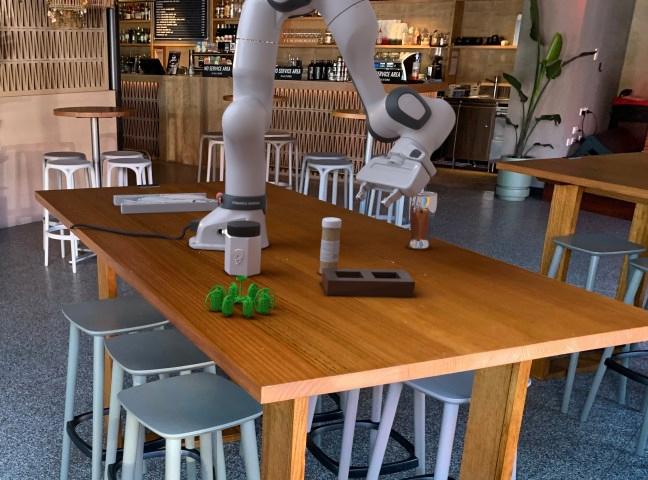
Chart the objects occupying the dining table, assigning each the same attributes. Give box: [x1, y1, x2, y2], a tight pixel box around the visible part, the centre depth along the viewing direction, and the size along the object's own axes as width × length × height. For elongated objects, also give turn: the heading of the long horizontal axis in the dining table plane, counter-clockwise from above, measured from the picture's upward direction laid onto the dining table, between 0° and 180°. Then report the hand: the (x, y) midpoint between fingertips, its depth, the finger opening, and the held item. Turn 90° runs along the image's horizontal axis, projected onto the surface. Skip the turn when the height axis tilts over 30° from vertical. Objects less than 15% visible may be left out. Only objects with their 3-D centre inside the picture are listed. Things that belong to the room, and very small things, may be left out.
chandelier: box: [205, 276, 276, 318], centre depth 164 cm, size 15×15×7 cm
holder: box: [321, 268, 416, 298], centre depth 180 cm, size 11×19×4 cm, turn 88°
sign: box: [113, 192, 219, 215], centre depth 278 cm, size 34×3×20 cm
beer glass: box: [407, 190, 438, 251], centre depth 218 cm, size 7×7×15 cm
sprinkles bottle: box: [318, 217, 343, 275], centre depth 191 cm, size 5×5×13 cm
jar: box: [224, 220, 262, 278], centre depth 192 cm, size 9×8×12 cm
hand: (371, 202), depth 192 cm, fingers open, 8 cm apart
